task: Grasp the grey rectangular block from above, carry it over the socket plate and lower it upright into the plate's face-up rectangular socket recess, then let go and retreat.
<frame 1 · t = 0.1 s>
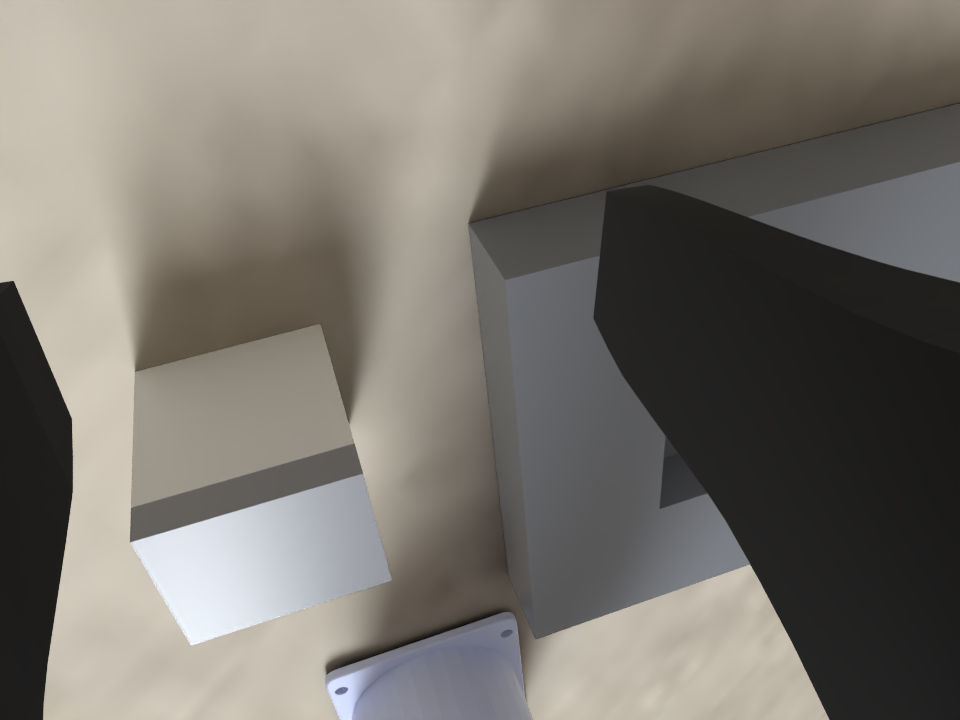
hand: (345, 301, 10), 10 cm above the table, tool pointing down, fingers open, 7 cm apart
socket plate: (706, 369, 28), on the table
grey rectangular block: (249, 400, 23), on the table
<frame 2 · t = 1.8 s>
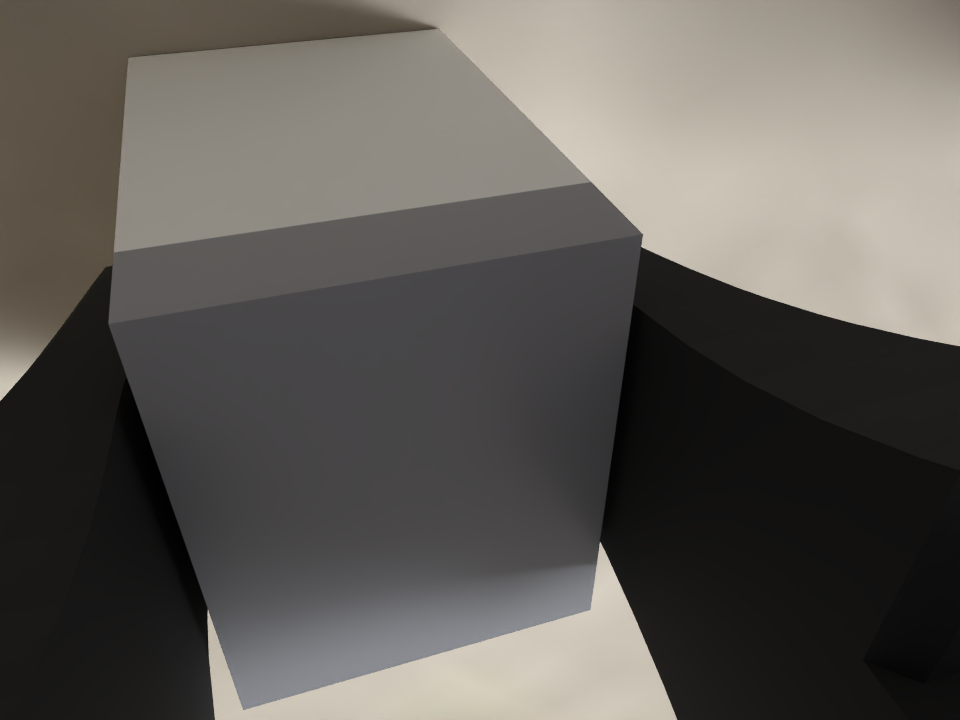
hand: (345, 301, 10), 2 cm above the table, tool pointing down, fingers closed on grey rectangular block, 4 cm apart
grey rectangular block: (315, 215, 12), on the table, touching gripper
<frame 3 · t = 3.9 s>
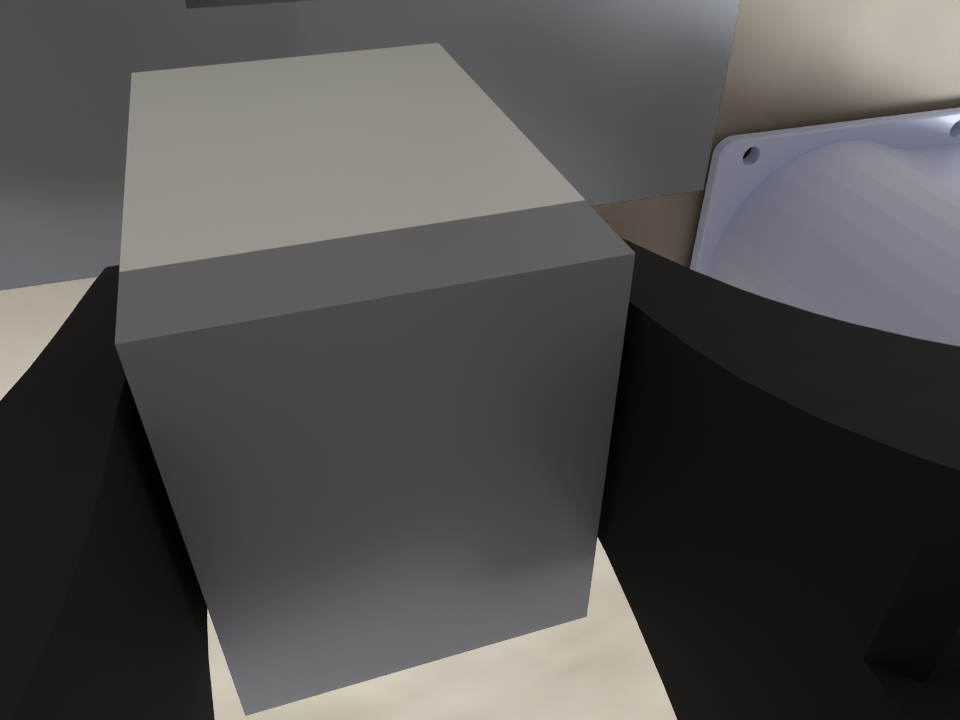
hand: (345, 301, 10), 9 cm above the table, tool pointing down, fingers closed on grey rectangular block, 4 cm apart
grey rectangular block: (316, 226, 12), point 7 cm above the table, touching gripper
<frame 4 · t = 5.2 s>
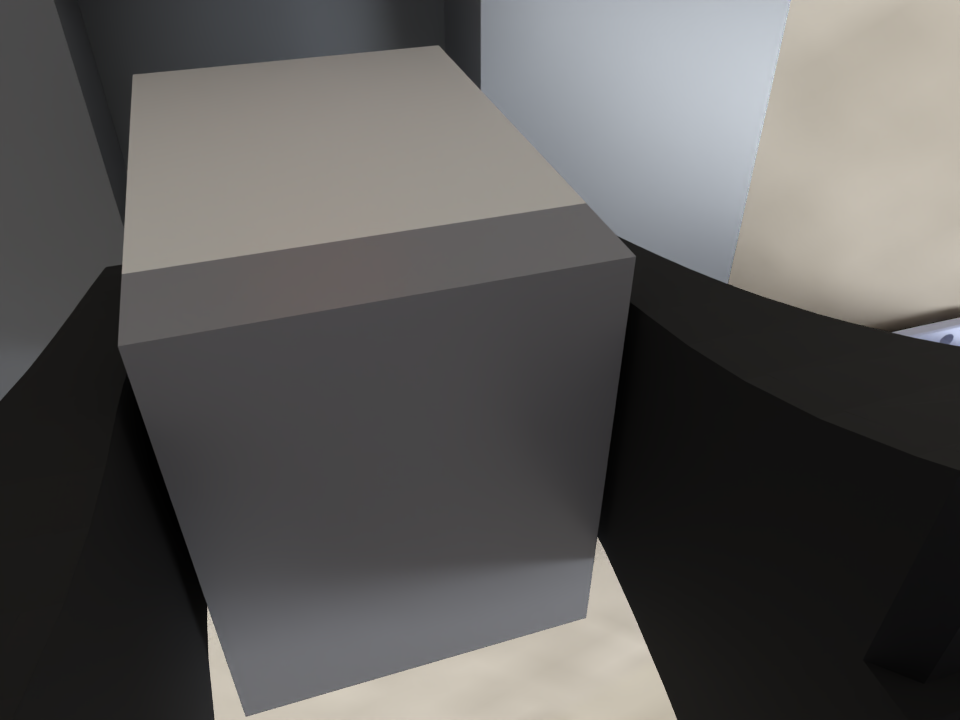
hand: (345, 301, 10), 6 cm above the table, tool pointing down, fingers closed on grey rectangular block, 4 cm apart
socket plate: (287, 128, 15), on the table
grey rectangular block: (316, 227, 12), point 4 cm above the table, touching gripper
when the fingers open (4 cm above the table, at t = 6.0 s): grey rectangular block stays where it is, resting on socket plate.
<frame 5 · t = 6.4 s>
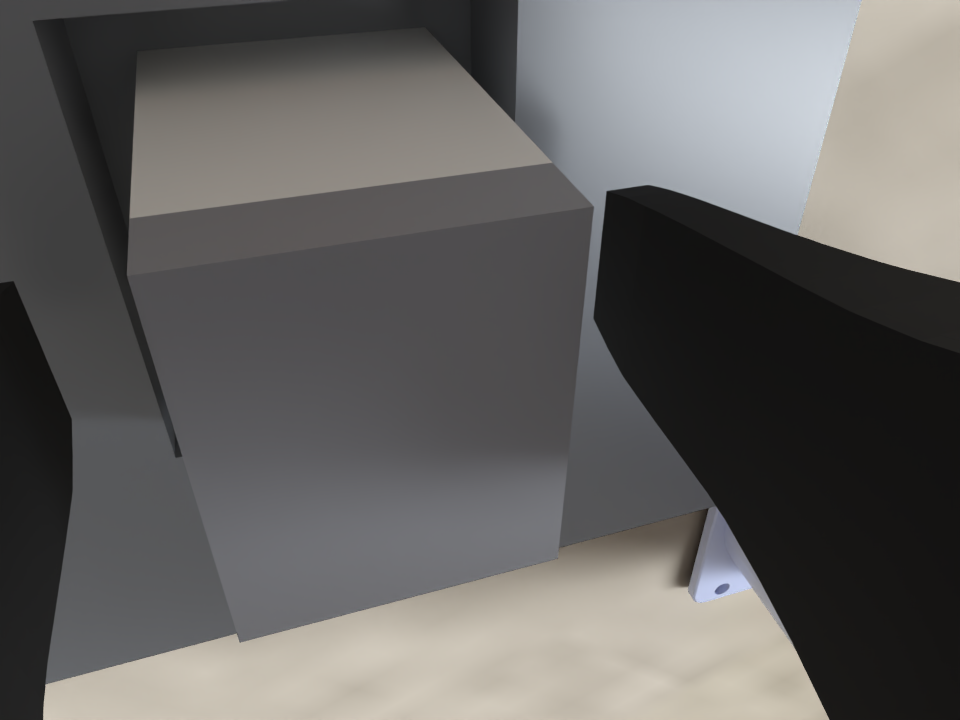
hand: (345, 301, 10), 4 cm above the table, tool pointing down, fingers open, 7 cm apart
socket plate: (297, 162, 13), on the table
grey rectangular block: (309, 200, 13), point 1 cm above the table, touching socket plate
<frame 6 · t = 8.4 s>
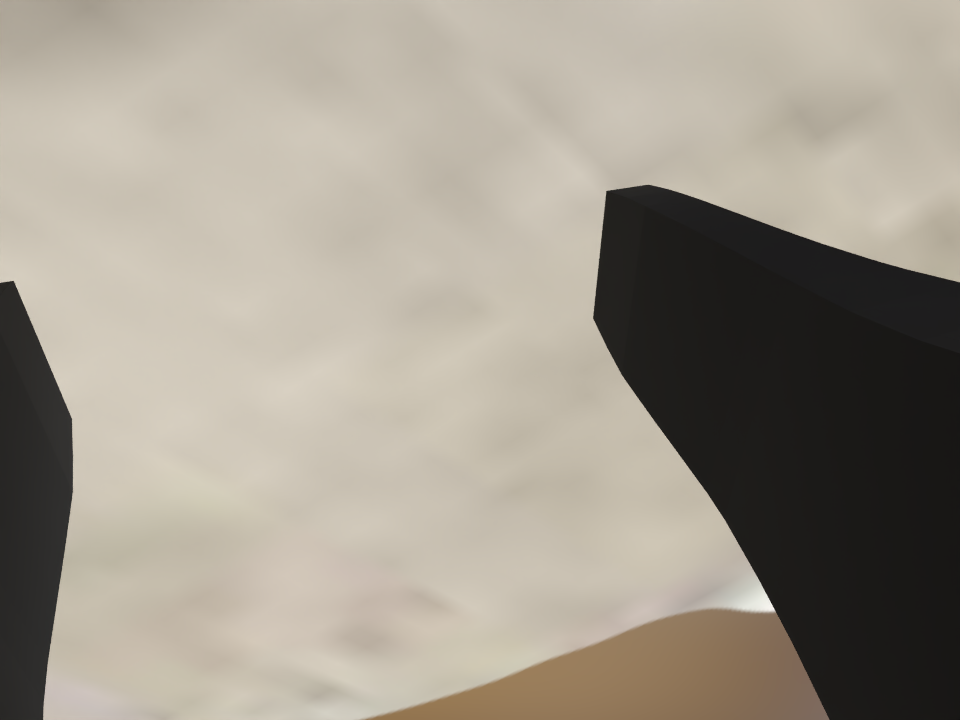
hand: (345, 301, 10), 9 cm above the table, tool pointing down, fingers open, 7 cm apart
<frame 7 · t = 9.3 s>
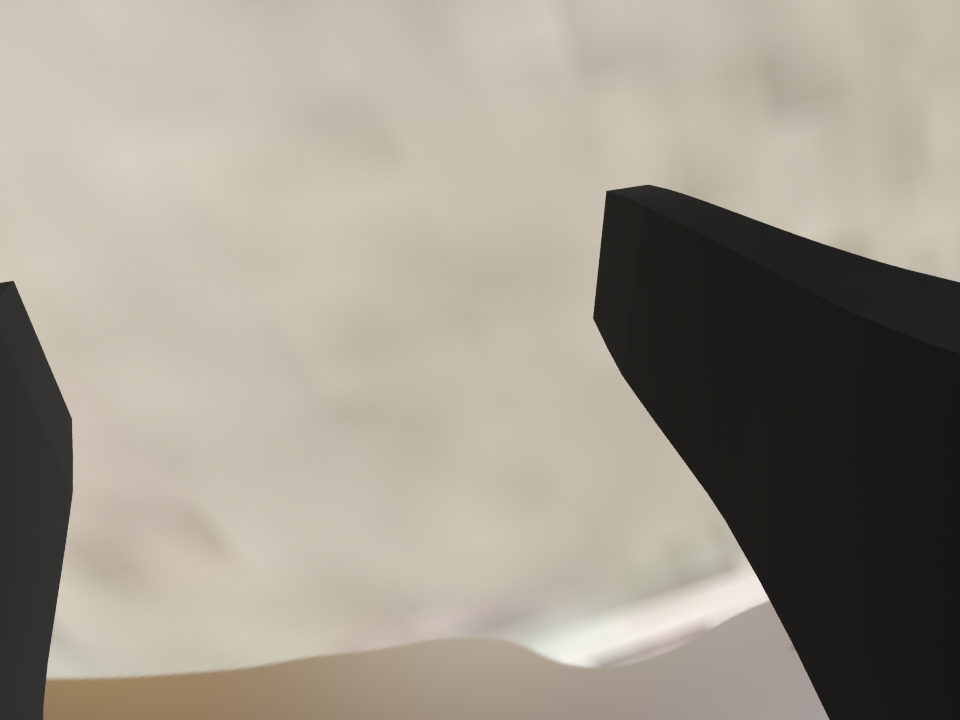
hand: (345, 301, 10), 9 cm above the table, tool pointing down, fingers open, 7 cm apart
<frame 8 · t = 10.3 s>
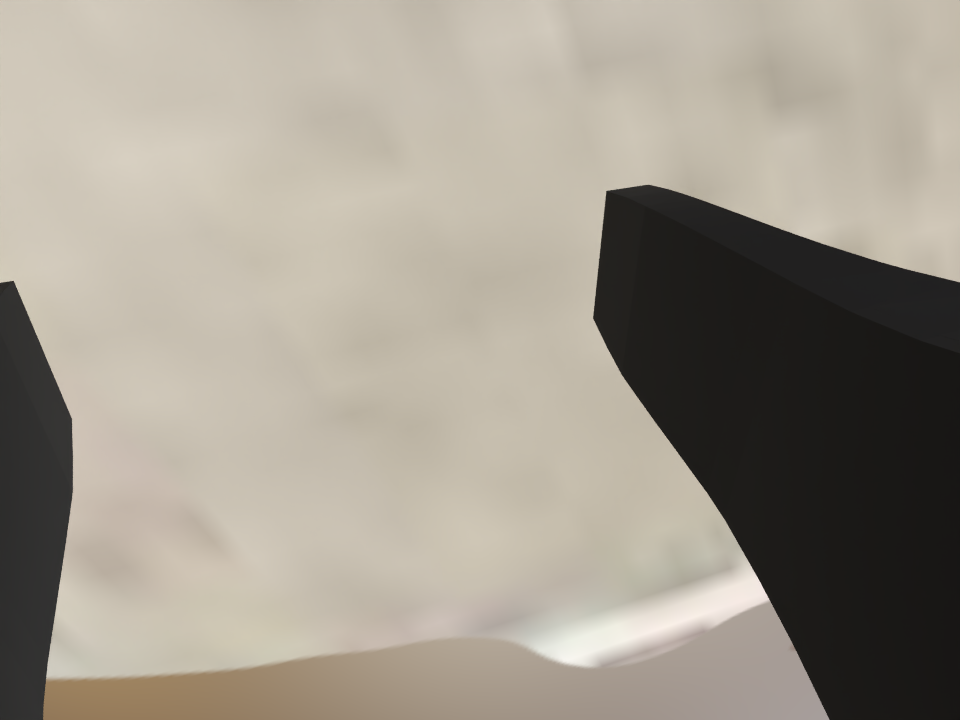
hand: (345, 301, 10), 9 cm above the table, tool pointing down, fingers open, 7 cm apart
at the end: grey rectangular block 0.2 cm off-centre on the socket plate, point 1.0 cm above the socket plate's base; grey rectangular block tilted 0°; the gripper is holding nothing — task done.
